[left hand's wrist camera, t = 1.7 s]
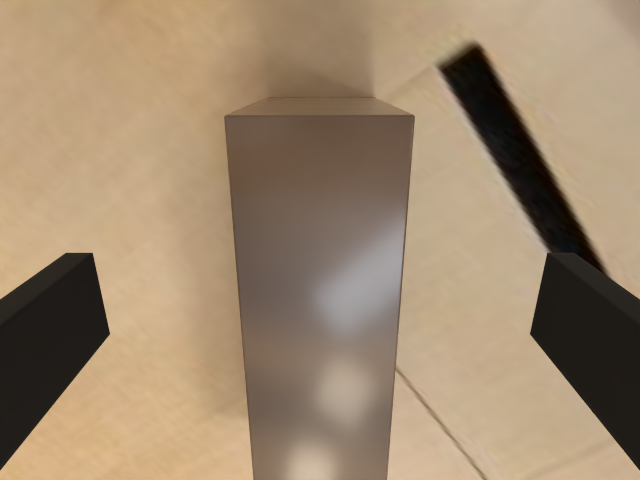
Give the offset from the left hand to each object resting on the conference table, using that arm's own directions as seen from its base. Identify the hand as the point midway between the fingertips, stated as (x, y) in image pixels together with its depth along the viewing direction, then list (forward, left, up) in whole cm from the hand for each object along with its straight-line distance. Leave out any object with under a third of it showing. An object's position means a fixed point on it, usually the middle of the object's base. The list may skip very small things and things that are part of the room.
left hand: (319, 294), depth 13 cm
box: (0, +7, -15) cm, 16 cm away
